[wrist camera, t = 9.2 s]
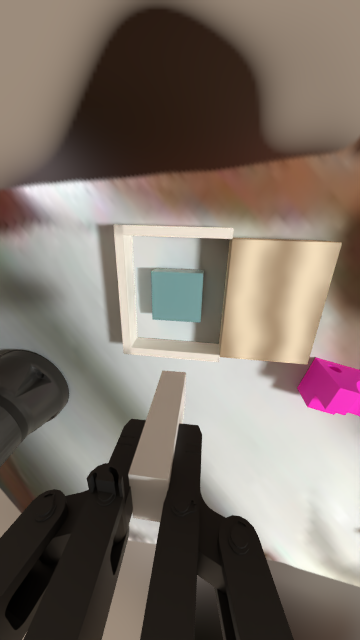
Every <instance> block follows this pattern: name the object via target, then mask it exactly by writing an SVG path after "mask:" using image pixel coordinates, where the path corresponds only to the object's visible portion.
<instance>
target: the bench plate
mask: <svg viewBox="0 0 360 640" xmlns="http://www.w3.org/2000/svg"><path fill="white" fill-rule="evenodd" d="M341 245H342V243H340V242H331V241H316V240H285V239H254V238H232V239H230V242H229V251H228V261H227V270H226V280H225V290H224V299H223V309H222V318H221V328H220V338H219V352H220V357H226V358H238V359H249V360H261V361H272V362H284V363H296V364H308V360H309V357H310V353H311V350H312V346H313V343H314V339H315V336H316V332H317V329H318V325H319V322H320V318H321V315H322V311H323V308H324V304H325V301H326V297H327V294H328V290H329V287H330V283H331V280H332V276H333V273H334V269H335V266H336V262H337V259H338V255H339V252H340V248H341Z"/></svg>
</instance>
